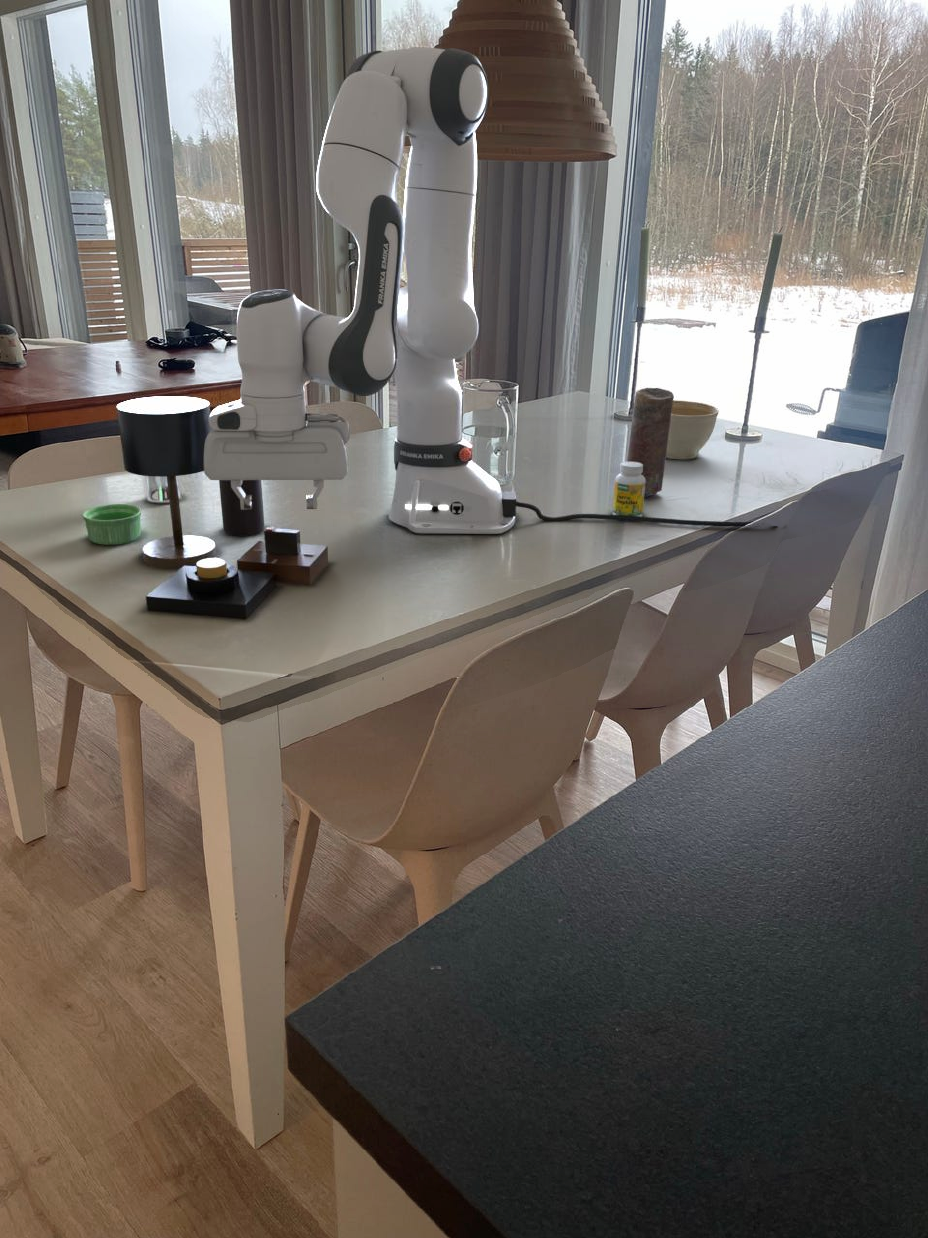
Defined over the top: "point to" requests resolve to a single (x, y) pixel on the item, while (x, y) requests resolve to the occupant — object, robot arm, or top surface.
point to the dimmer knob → (282, 541)
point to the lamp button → (211, 568)
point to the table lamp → (167, 464)
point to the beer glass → (159, 490)
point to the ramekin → (113, 523)
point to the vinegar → (238, 519)
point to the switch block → (212, 593)
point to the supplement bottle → (629, 490)
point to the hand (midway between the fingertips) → (279, 508)
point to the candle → (651, 435)
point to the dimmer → (287, 563)
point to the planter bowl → (689, 428)
